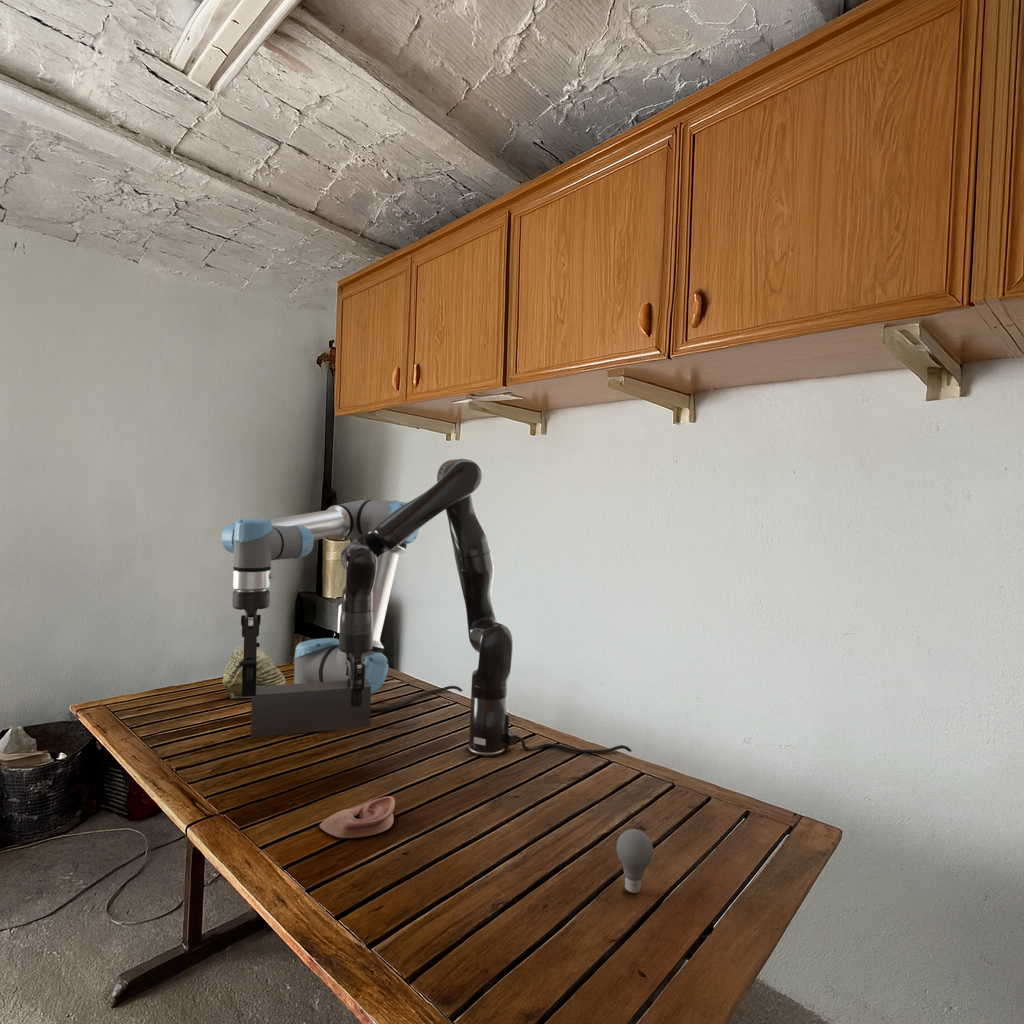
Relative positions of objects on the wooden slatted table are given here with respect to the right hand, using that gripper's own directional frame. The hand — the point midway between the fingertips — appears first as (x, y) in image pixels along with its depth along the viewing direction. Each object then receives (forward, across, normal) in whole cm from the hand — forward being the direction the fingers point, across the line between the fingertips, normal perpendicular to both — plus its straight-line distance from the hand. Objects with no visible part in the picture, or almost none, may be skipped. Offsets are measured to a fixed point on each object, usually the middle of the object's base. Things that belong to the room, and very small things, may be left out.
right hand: (354, 701), depth 146 cm
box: (+5, 0, +9) cm, 11 cm away
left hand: (-5, 0, +23) cm, 23 cm away
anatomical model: (+16, -24, +2) cm, 29 cm away
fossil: (+16, +64, +22) cm, 69 cm away
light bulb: (+17, -59, -38) cm, 72 cm away
